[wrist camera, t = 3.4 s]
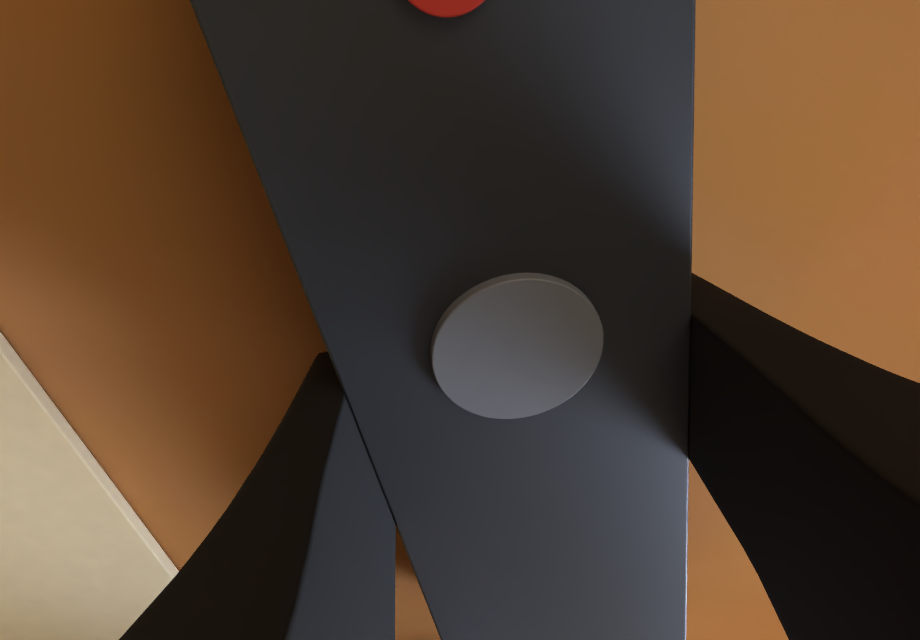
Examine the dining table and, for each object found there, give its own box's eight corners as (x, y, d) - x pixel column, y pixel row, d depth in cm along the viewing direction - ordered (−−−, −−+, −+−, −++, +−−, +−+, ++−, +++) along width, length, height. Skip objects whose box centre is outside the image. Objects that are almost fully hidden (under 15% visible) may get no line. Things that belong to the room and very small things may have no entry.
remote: (637, 552, 16) (689, 681, 14) (455, 593, 16) (473, 729, 14) (586, -329, 7) (713, -443, 5) (174, -232, 7) (67, -290, 5)
